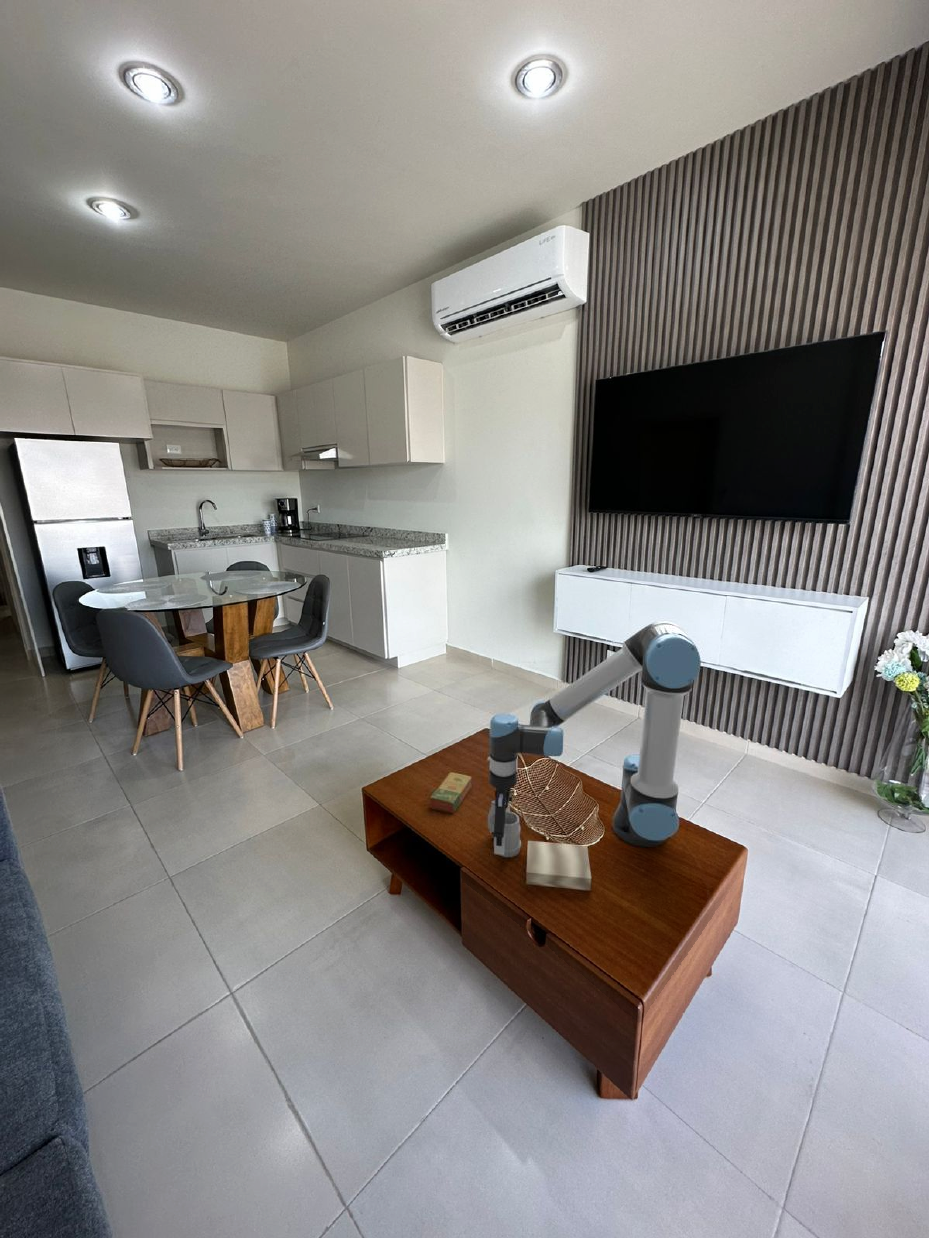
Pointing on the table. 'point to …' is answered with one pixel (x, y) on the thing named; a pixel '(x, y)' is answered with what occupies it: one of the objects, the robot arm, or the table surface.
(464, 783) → the carton
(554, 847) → the cream rectangular block
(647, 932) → the table surface
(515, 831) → the mug
